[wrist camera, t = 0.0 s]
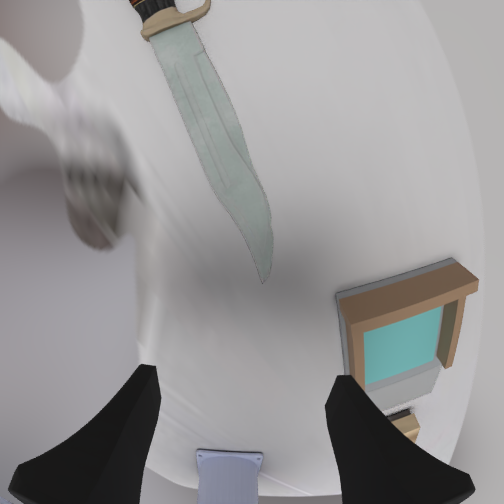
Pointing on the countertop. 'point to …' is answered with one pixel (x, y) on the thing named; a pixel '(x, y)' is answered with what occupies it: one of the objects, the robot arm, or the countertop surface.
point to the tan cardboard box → (406, 424)
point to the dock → (400, 308)
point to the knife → (210, 121)
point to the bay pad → (400, 345)
